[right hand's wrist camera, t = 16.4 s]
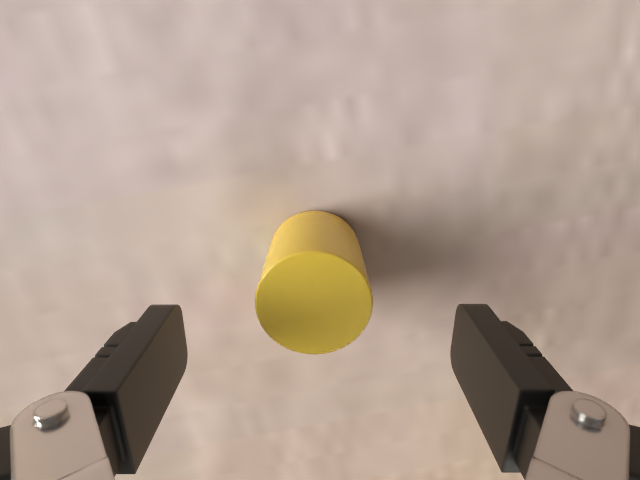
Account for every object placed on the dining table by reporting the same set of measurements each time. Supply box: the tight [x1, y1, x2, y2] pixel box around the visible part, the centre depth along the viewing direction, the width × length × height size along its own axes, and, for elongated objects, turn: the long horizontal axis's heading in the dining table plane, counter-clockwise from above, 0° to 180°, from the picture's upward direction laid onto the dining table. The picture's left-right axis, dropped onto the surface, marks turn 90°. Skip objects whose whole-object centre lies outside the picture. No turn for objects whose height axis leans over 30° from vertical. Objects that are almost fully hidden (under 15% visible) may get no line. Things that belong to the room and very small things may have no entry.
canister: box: [255, 211, 373, 354], centre depth 14 cm, size 4×4×4 cm
